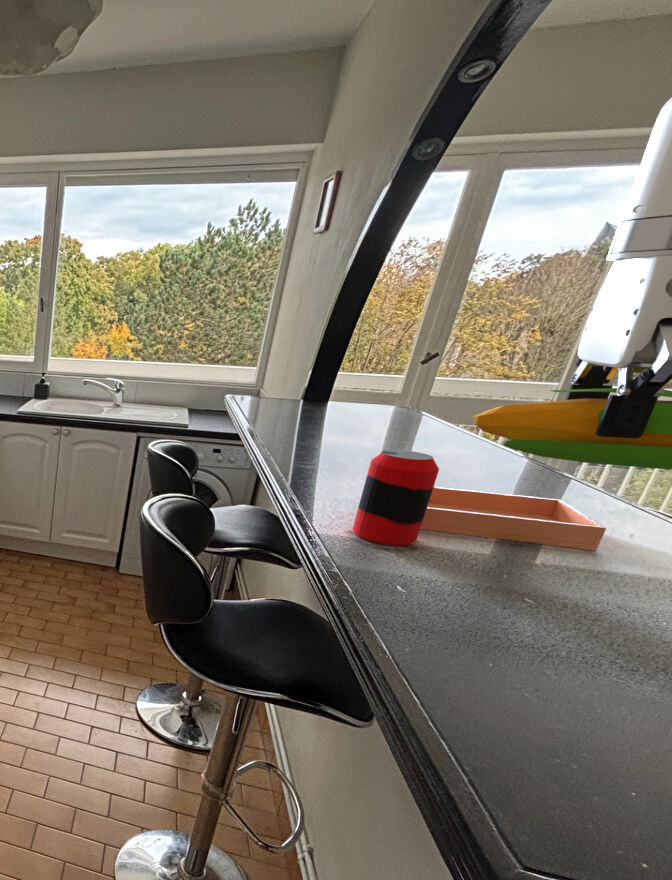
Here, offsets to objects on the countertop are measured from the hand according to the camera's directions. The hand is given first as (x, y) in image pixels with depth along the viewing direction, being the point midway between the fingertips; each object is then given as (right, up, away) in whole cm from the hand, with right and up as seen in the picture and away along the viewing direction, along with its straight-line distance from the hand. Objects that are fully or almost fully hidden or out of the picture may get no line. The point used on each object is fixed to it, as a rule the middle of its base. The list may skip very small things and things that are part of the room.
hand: (596, 428), depth 61 cm
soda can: (-6, -11, +23) cm, 26 cm away
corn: (0, -3, +1) cm, 4 cm away
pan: (+11, -9, +28) cm, 32 cm away
